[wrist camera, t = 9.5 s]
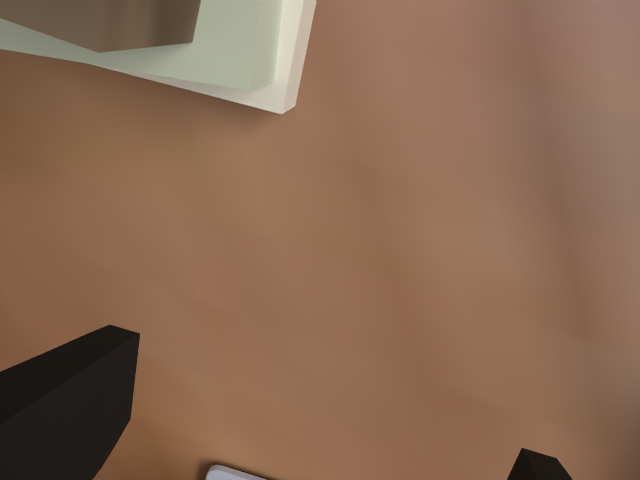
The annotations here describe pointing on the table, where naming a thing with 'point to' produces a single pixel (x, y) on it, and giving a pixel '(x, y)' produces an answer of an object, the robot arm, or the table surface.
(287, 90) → the tower base slab
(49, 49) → the tower top slab
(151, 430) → the table surface
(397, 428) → the table surface
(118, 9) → the walnut block
